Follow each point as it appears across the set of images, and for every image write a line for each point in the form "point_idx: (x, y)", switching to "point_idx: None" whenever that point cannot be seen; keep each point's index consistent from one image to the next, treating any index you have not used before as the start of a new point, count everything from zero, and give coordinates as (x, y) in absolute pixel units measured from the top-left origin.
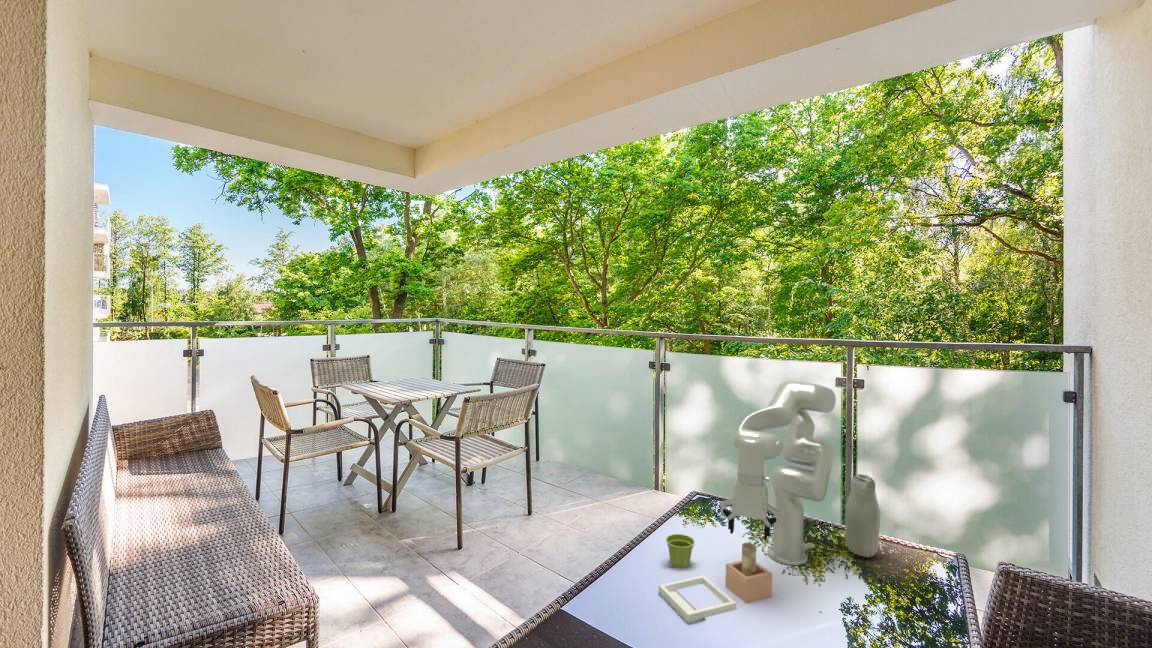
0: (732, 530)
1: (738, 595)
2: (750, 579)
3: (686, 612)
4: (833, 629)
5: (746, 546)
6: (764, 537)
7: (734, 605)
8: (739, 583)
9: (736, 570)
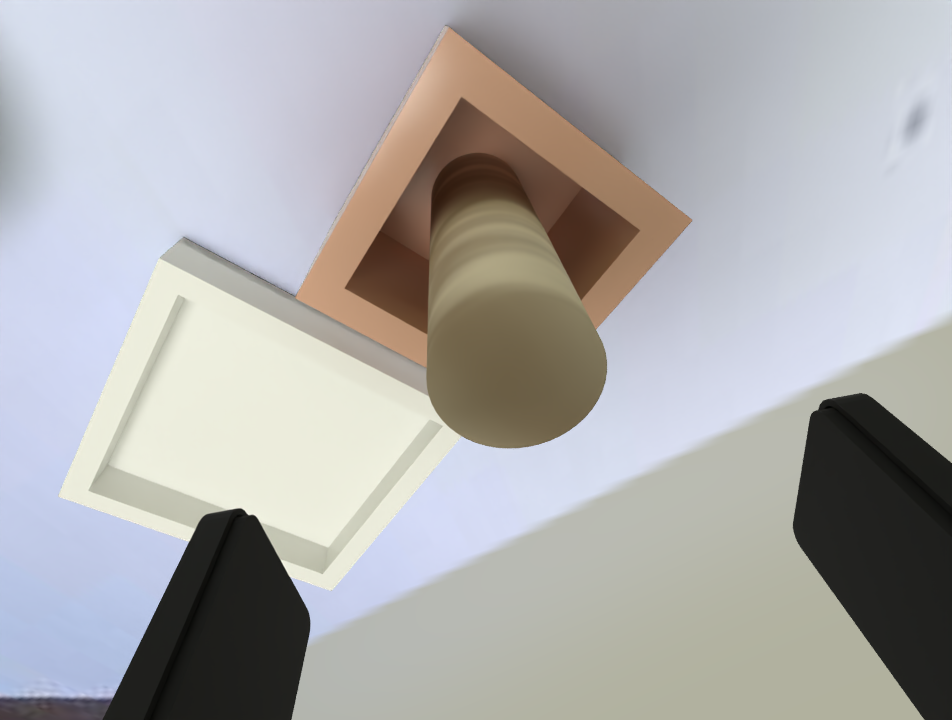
0: (297, 668)
1: None
2: None
3: (315, 583)
4: (943, 261)
5: (492, 410)
6: (819, 562)
7: None
8: None
9: (414, 346)
